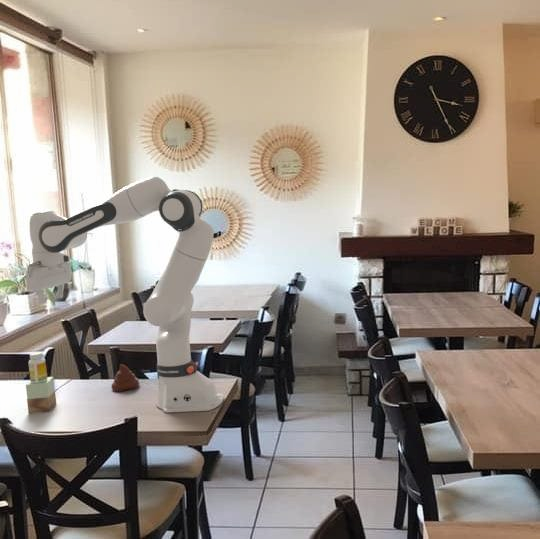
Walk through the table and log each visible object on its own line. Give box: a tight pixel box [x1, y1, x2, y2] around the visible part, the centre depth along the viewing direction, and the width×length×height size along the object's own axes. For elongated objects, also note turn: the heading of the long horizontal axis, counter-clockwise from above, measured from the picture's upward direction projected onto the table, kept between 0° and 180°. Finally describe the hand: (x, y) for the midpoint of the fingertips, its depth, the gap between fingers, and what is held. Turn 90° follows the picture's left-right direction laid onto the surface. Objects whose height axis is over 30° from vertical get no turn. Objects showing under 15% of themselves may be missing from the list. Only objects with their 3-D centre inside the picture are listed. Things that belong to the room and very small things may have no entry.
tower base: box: [26, 391, 57, 414], centre depth 198 cm, size 7×7×5 cm
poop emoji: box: [111, 363, 140, 392], centre depth 215 cm, size 10×8×9 cm
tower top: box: [25, 376, 56, 400], centre depth 197 cm, size 7×7×5 cm
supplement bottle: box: [28, 351, 48, 383], centre depth 196 cm, size 5×5×10 cm
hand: (51, 300), depth 195 cm, fingers open, 8 cm apart
